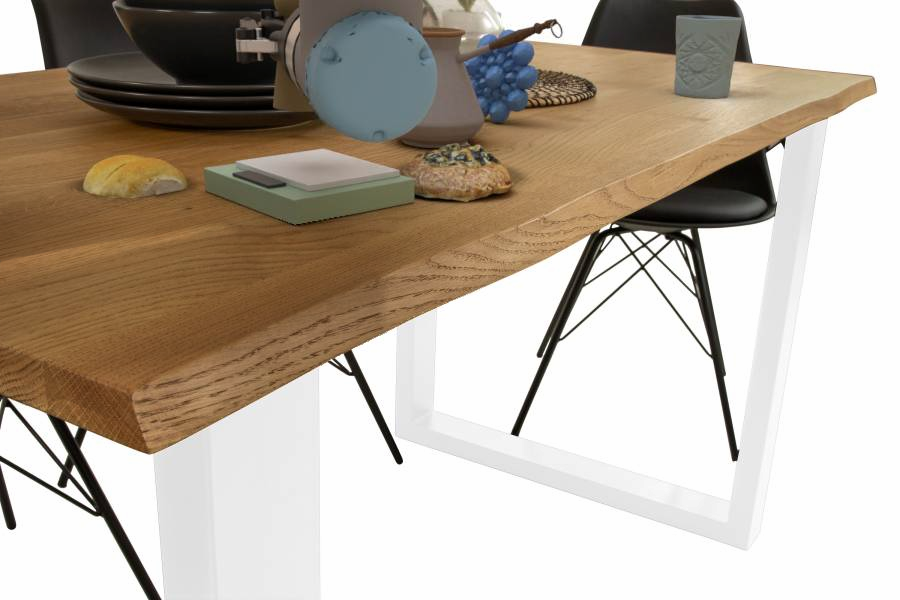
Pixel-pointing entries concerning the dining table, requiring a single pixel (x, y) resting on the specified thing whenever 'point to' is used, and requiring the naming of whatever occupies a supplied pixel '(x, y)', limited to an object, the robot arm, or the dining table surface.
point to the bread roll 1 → (133, 177)
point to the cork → (284, 88)
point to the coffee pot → (457, 87)
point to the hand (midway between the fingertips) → (297, 26)
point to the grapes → (502, 77)
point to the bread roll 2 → (458, 173)
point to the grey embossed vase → (705, 55)
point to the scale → (310, 185)
